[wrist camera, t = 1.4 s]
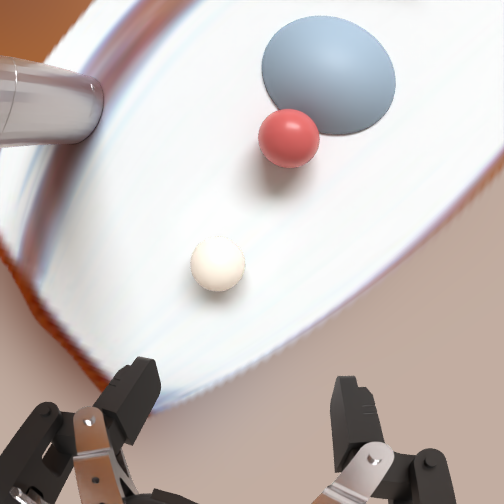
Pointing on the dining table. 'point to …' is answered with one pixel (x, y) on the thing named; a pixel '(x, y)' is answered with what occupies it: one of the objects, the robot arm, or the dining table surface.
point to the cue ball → (217, 263)
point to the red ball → (288, 138)
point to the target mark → (329, 73)
